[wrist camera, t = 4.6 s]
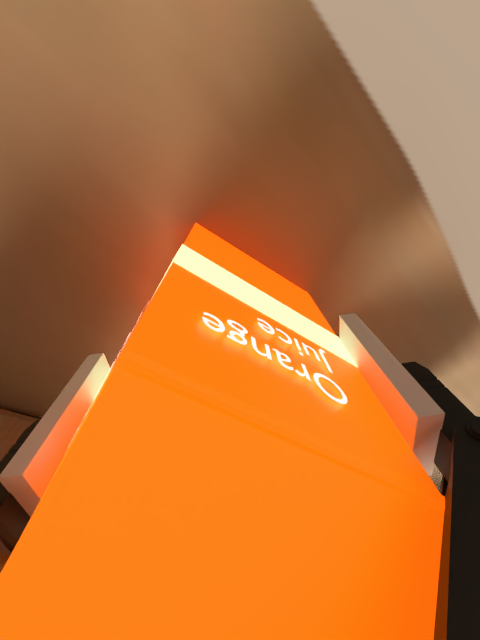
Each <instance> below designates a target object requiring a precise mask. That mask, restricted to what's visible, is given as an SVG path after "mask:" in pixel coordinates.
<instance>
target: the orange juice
mask: <svg viewBox="0 0 480 640" xmlns="http://www.w3.org/2000/svg"><path fill="white" fill-rule="evenodd" d="M152 295H153V294H152ZM147 304H148V303H147ZM144 309H145V308H144ZM140 316H141V315H140ZM138 320H139V319H138ZM135 326H136V327H135V329H134V331H133V330H132V331H133V332H132V334H129V335H131V336H130V337H129V339H128V341H126V342H127V343H126V344H125V346H124V347H122V348H123V350H122V351H121V352H120V351H119V352H120V355H119V357H118V356H117V357H118V358H117V360H116V362H115V364H114V362H113V364H114V365H113V364H112V365H113V367H112V366H111V368H112V369H111V368H110V369H111V371H110V373H109V375H108V374H107V375H108V377H107V378H106V380H104V381H105V382H104V384H103V383H102V385H103V386H102V388H101V389H99V390H100V391H98V392H99V393H98V395H97V394H96V396H97V397H96V396H95V397H96V399H95V401H94V402H93V404H92V406H90V407H91V408H90V407H89V409H90V410H89V409H88V410H89V412H87V413H86V414H87V415H86V417H85V419H84V421H83V423H82V422H81V423H82V424H81V426H79V427H80V428H78V429H79V430H77V431H78V432H77V434H76V433H75V434H76V436H75V435H74V436H75V437H73V438H74V439H73V441H72V443H71V445H70V444H69V445H70V447H69V446H68V447H69V448H68V450H67V452H66V454H65V456H64V458H63V459H62V461H61V463H60V465H59V467H58V469H57V471H56V472H55V474H54V476H53V478H52V480H51V482H50V483H49V485H48V487H47V489H46V491H45V493H44V494H43V496H42V498H41V500H40V502H39V504H38V506H37V507H36V509H35V511H34V513H33V515H32V517H31V518H30V520H29V522H28V524H27V526H26V528H25V529H24V531H23V533H22V535H21V537H20V539H19V541H18V542H17V544H16V546H15V548H14V550H13V552H12V553H11V555H10V557H9V559H8V561H7V562H6V564H5V566H4V568H3V570H2V571H1V573H0V640H434V628H435V616H436V604H437V592H438V580H439V568H440V557H441V545H442V533H443V521H444V511H445V496H443V495H441V494H440V492H439V491H438V489H437V488H436V486H435V484H434V483H433V481H432V480H431V478H430V477H429V475H428V474H427V472H426V471H425V469H424V468H423V466H422V465H421V463H420V462H419V460H418V459H417V457H416V456H415V454H414V453H413V451H412V450H411V448H410V447H409V445H408V444H407V442H406V441H405V439H404V437H403V436H402V434H401V433H400V431H399V430H398V428H397V427H396V425H395V424H394V422H393V421H392V419H391V418H390V416H389V415H388V413H387V412H386V410H385V409H384V407H383V406H382V404H381V403H380V401H379V400H378V398H377V397H376V395H375V394H374V392H373V390H372V389H371V387H370V386H369V384H368V383H367V381H366V380H365V378H364V377H363V375H362V374H361V372H360V371H359V369H358V366H357V365H356V363H355V362H354V360H353V359H352V357H351V356H350V354H349V353H348V351H347V350H346V348H345V347H344V345H343V344H342V342H341V341H340V339H339V337H338V336H336V334H335V333H334V331H333V330H332V328H331V327H330V325H329V324H328V322H327V321H326V319H325V318H324V316H323V315H322V313H321V312H320V310H319V309H318V307H317V306H316V304H315V303H314V301H313V299H312V298H311V296H310V295H309V293H307V292H306V291H304V290H303V289H301V288H299V287H298V286H296V285H295V284H293V283H292V282H290V281H288V280H287V279H285V278H284V277H282V276H280V275H279V274H277V273H276V272H274V271H272V270H271V269H269V268H268V267H266V266H264V265H263V264H261V263H260V262H258V261H256V260H255V259H253V258H252V257H250V256H248V255H247V254H245V253H244V252H242V251H240V250H239V249H237V248H236V247H234V246H232V245H231V244H229V243H228V242H226V241H224V240H223V239H221V238H220V237H218V236H217V235H215V234H213V233H212V232H210V231H209V230H207V229H205V228H204V227H202V226H201V225H199V224H197V223H195V225H194V226H193V228H192V230H191V232H190V233H189V235H188V237H187V239H186V240H185V242H184V244H182V245H181V247H180V248H179V250H178V252H177V253H176V255H175V257H174V259H173V260H172V262H171V264H170V266H169V268H168V269H167V271H166V273H165V275H164V277H163V279H162V280H161V282H160V284H159V286H158V288H157V290H156V291H155V293H154V295H153V297H152V299H151V301H150V302H149V304H148V306H147V308H146V310H145V311H144V313H143V315H142V317H141V318H140V320H139V322H138V324H137V325H135ZM130 333H131V332H130ZM127 338H128V337H127ZM124 343H125V342H124ZM123 345H124V344H123Z"/></svg>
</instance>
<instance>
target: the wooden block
mask: <svg viewBox="0 0 480 640" xmlns="http://www.w3.org/2000/svg"><path fill="white" fill-rule="evenodd" d="M36 420H39V419H37V418H34V417H30V416H26V415H22V414H19V413H15V412H11V411H8V410H4V409H0V461H1V460H2V459H3V458H4V456H5V455H6V454H7V453H9V450H10V448H11V447H12V446H13V445H14V444H16V441H17V439H18V438H19V437H20V435H21V434H22V433H23V432H24V430H25V429H27V428H28V427H29V426H30V425H31V424H33V423H34V422H35V421H36Z"/></svg>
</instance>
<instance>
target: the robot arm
mask: <svg viewBox="0 0 480 640" xmlns="http://www.w3.org/2000/svg"><path fill="white" fill-rule="evenodd" d="M339 336H340V341H341V342H342V344H343V345H344V347H345V348H346V350H347V351H348V353H349V354H350V356H351V357H352V359H353V360H354V362H355V363H356V365H357V366H358V369H359V371H360V372H361V374H362V375H363V377H364V378H365V380H366V381H367V383H368V384H369V386H370V387H371V389H372V390H373V392H374V394H375V395H376V397H377V398H378V400H379V401H380V403H381V404H382V406H383V407H384V409H385V410H386V412H387V413H388V415H389V416H390V418H391V419H392V421H393V422H394V424H395V425H396V427H397V428H398V430H399V431H400V433H401V434H402V436H403V437H404V439H405V441H406V442H407V444H408V445H409V447H410V448H411V450H412V451H413V453H414V454H415V456H416V457H417V459H418V460H419V462H420V463H421V465H422V466H423V468H424V469H425V471H426V472H427V474H428V475H429V476H432V474H433V469H434V464H435V465H436V466H437V467H438V469H439V470H440V472H441V473H442V475H443V477H442V481H441V486H440V490H439V492H440V494H441V495H443V496H445V511H444V521H443V533H442V545H441V557H440V568H439V580H438V592H437V604H436V616H435V628H434V640H480V417H477V416H475V415H474V414H473V413H472V412H471V411H470V410H469V409H468V408H467V407H466V406H465V405H464V404H463V403H461V402H460V401H459V400H458V399H457V398H456V397H455V396H454V395H453V394H452V393H451V392H450V391H449V390H448V389H447V388H446V387H444V385H443V384H442V383H441V382H440V381H439V380H437V378H436V377H435V376H434V375H433V374H432V373H431V372H430V371H429V370H428V369H427V368H425V367H423V366H421V365H420V364H418V363H416V362H409V363H402V364H401V363H400V362H399V361H398V360H397V359H396V358H395V357H394V356H393V354H392V353H391V352H390V351H389V350H388V349H387V348H386V347H385V345H384V344H383V343H382V342H381V341H380V340H379V339H378V338H377V336H376V335H375V334H374V333H373V332H372V331H371V330H370V329H369V328H368V326H367V325H366V324H365V323H364V322H363V321H362V320H361V319H360V317H359V316H358V315H357V314H356V313H350V314H344V315H339ZM110 371H111V369H110V366H109V364H108V362H107V359H106V357H105V355H104V353H98V354H92V355H88V356H87V358H86V359H85V361H84V362H83V363H82V365H81V366H80V367H79V369H78V370H77V371H76V373H75V374H74V375H73V377H72V378H71V379H70V381H69V382H68V384H67V385H66V386H65V388H64V389H63V390H62V392H61V393H60V394H59V396H58V397H57V398H56V400H55V401H54V402H53V404H52V405H51V407H50V408H49V409H48V411H47V412H46V413H45V415H44V416H43V417H42V419H39V420H36V421H35V422H34V423H33V424H31V425H30V426H29V427H28V428H27V429H25V430H24V432H23V433H22V434H21V435H20V437H19V438H18V439H17V441H16V444H14V445H13V446H12V447H11V448H10V450H9V453H7V454H6V455H5V456H4V458H3V459H2V460H1V461H0V573H1V571H2V570H3V568H4V566H5V564H6V562H7V561H8V559H9V557H10V555H11V553H12V552H13V550H14V548H15V546H16V544H17V542H18V541H19V539H20V537H21V535H22V533H23V531H24V529H25V528H26V526H27V524H28V522H29V520H30V518H31V517H32V515H33V513H34V511H35V509H36V507H37V506H38V504H39V502H40V500H41V498H42V496H43V494H44V493H45V491H46V489H47V487H48V485H49V483H50V482H51V480H52V478H53V476H54V474H55V472H56V471H57V469H58V467H59V465H60V463H61V461H62V459H63V458H64V456H65V454H66V452H67V450H68V448H69V447H70V445H71V443H72V441H73V439H74V438H73V437H75V436H76V434H77V432H78V431H77V430H79V429H78V428H80V427H79V426H81V424H82V423H83V421H84V419H85V417H86V415H87V414H86V413H87V412H89V410H90V409H89V407H90V406H92V404H93V402H94V401H95V399H96V397H97V396H96V394H97V395H98V393H99V392H98V391H100V390H99V389H101V388H102V386H103V385H102V383H103V384H104V382H105V381H104V380H106V378H107V377H108V375H109V373H110ZM107 374H108V375H107ZM95 396H96V397H95ZM90 408H91V407H90ZM88 409H89V410H88ZM81 422H82V423H81ZM75 433H76V434H75ZM74 435H75V436H74ZM69 444H70V445H69ZM68 446H69V447H68Z"/></svg>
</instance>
